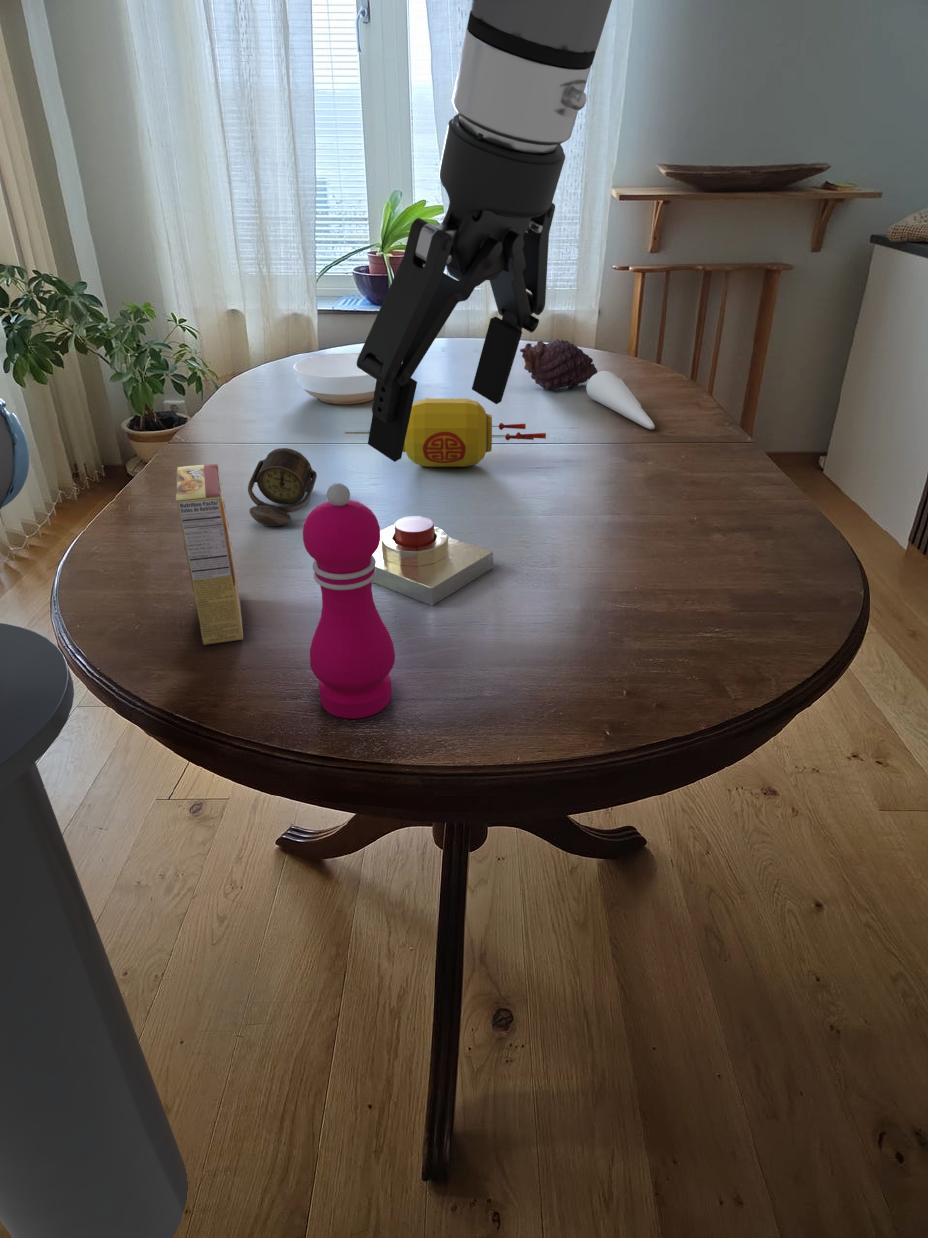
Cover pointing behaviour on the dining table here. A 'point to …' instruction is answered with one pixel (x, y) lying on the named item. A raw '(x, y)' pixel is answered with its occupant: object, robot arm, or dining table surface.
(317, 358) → the bowl
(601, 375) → the long cone
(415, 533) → the button
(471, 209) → the robot arm
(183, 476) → the candy box
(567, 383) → the pine cone
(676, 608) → the dining table surface
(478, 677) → the dining table surface
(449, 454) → the lantern
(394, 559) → the control block
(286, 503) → the brass desk clock
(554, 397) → the dining table surface
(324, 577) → the pepper mill
